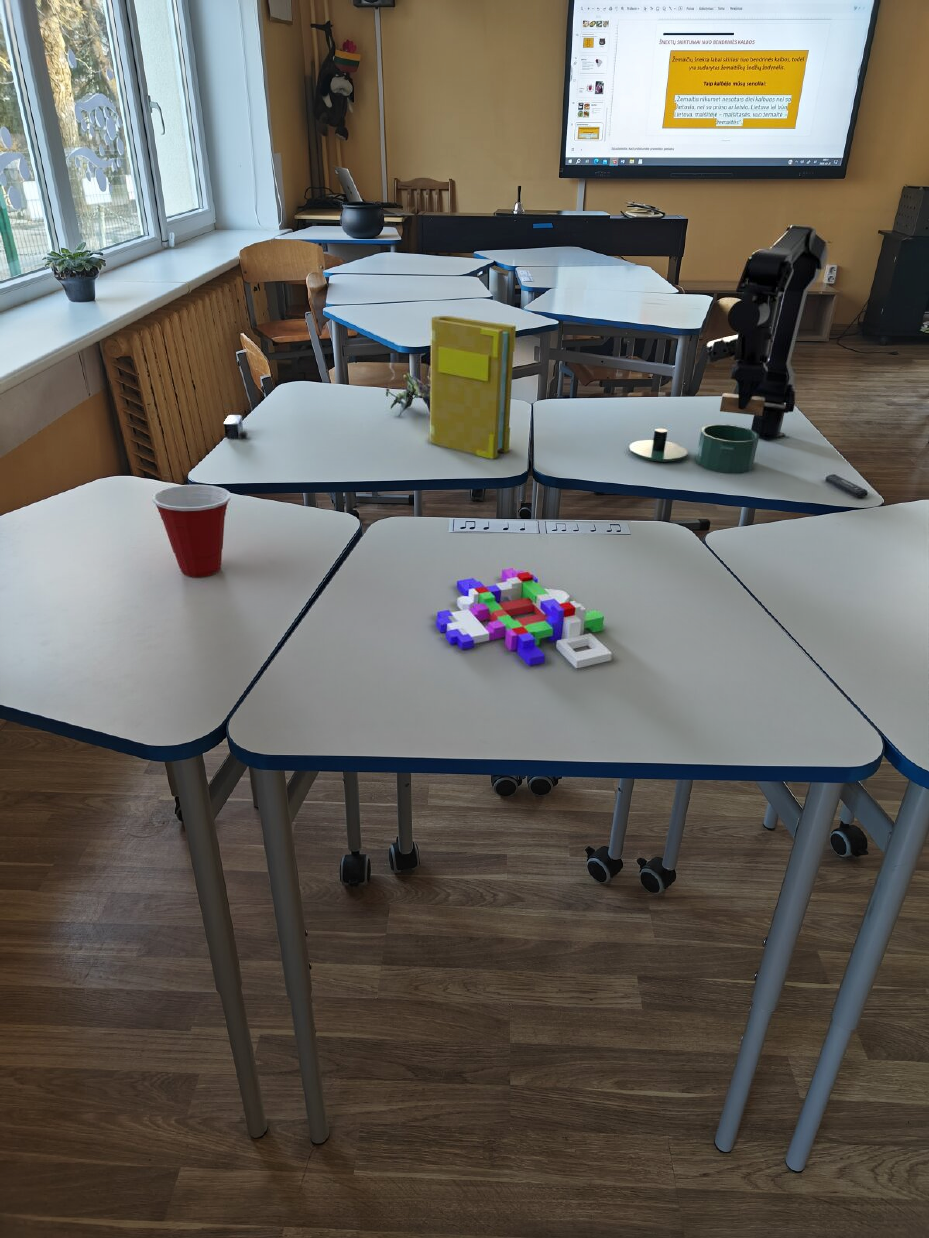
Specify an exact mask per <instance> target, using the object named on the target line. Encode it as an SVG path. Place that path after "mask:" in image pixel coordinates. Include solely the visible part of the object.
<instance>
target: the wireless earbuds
mask: <svg viewBox="0 0 929 1238" xmlns="http://www.w3.org/2000/svg"><path fill="white" fill-rule="evenodd" d="M223 428H224V434H225V435H224V436H225V438H226V439H230V440H231V439H232V440H233V439H235V440H236V439H238V438H240V439H241V440H246V439H247V438H248V432H247V431H245V430H244V423H243V415H241V414H230V415H228V416H227V418H226V419H225V421H224V422H223ZM243 430H244V431H243Z"/></svg>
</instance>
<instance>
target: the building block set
mask: <svg viewBox="0 0 929 1238" xmlns="http://www.w3.org/2000/svg"><path fill="white" fill-rule="evenodd" d="M501 581H502V582H497V583H495V584H493V585H488V586H485V585H484V584H483V583H482V581H480V580H479V581H477V580H476V579H475V578H474V577H471V578H465V579H460V580H457V581H456V589H457V590H458V591H459V592H460V593H461V594H462V595H461V596H459V597H457V600H456V606H457V607H458V608H459V609H460V610H458V611H453V612H452V611H451V610H449V609H446V610H441V611H437V612H436V613H437V614H436V620H435V621H436V622H435V627H436V629H438V631H439V632H440V633H444V632H445V640H446V641H447V642H448V643H449V645H457V646H458V647H459V648H460V650H462V651H463V650H468V649H473V648H475V647H474V646H475V644H479V643H485V642H488V641H489V642H490V641H494V640H498V639H502V638H505V640H504V641H505V642H504V645H505V646H506V648H507V649H508V650H509V651H510V652H513V651H517V652H516V653H517V655H518V656H519V657H520V658H521V659H522V660H523V661H524V663H526V665H527V666H528V667H531V666H535V665H540V664H544V663H545V661H546V654H545V653H544V652H543V651H542V650H541V649H540V648H539V647H538V646H540V642H541V641H540V639H543V638H545V639H547V640H548V641H549V642H550V643H552V642H556V646H555V648H556V650H557V651H558V652H559V653H560V654H561V655H562V656H563V657H564V658H565V659H566V660H567V661H568V662H569V663H571V665H572V666H573V667H574V668H575V669H581V668H584V667H589V666H593V665H598V664H603V663H606V662H611V661H612V655H613V653H612V652H611V651H610V650H609V648H607V647H606V646H605V645H604V644H603V643H602V642H601V641H599V639H597V638H596V637H595V635H594V634H592V633H597V632H602V631H603V629H604V621H605V620H604V618H605V616H604V615H603V614H602V613H601V612H600V611H599V610H594V609H593V610H589V611H587V608H586V607H584V605H582V604H581V603H580V602H577V601H576V600H572V601H570V597H571V596H570V595H569V594H568V593H567V592H566V591H565V590H561V589H560V590H559V589H554V588H553V589H552V588H544V587H543V586H541V585H540V584H539V579H538V578H537V577H536V576H535V575H534V574H533V573H532V574H531V573H530V572H529V571H524V570H523V569H520V570H515V569H514V568H513V567H512V568H505V569H501ZM505 597H506V598H507V599H508V601H504V602H501V599H502V598H505ZM528 613H534V615H529V616H525V617H520V618H515V619H513V618H512V617H514V616H518V615H524V614H528ZM486 620H489V622H488V625H486V626H484V625H483V624H482V623H481V622H482V621H486ZM585 629H588V630H590V632H591V633H586V634H584V632H585V631H584V630H585ZM587 646H588V647H589V649H584V650H581V651H575V649H578V648H582V647H587Z"/></svg>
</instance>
